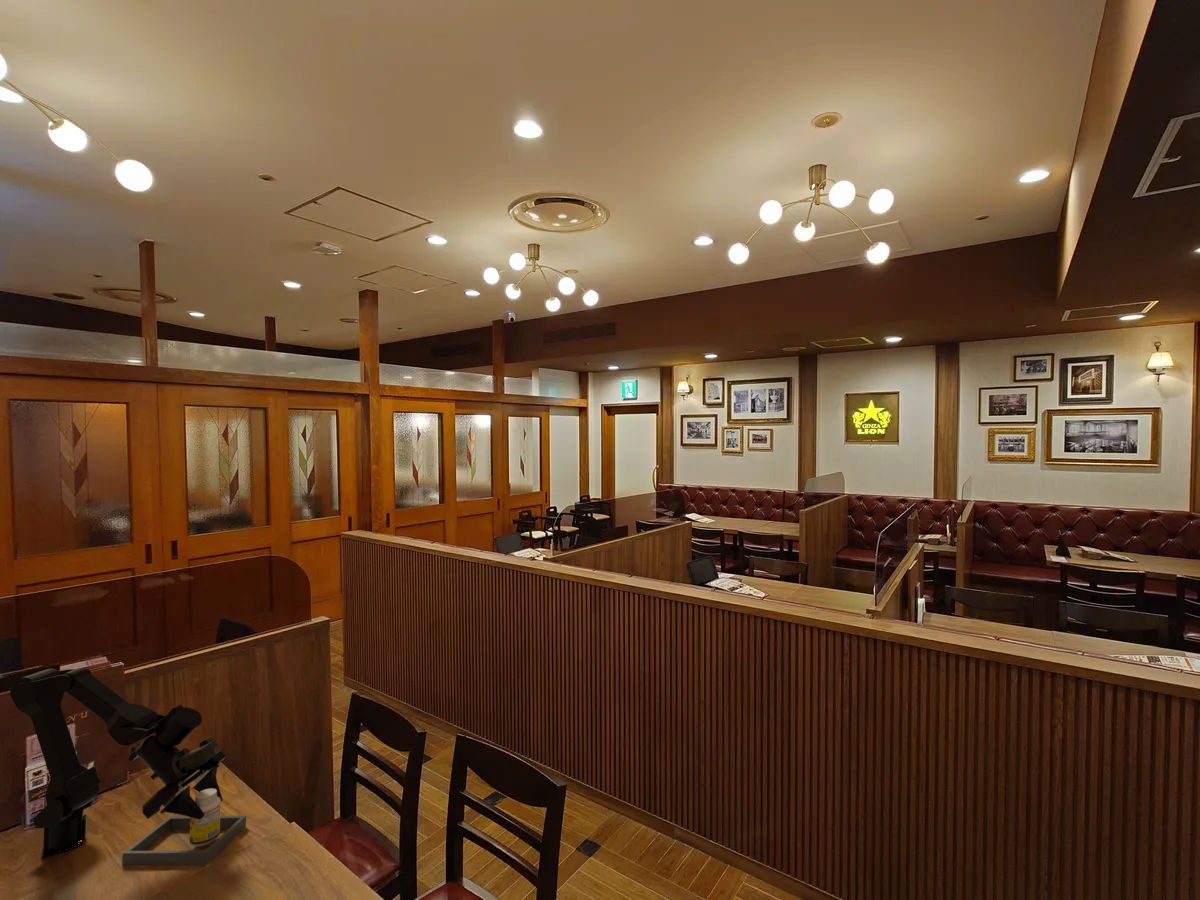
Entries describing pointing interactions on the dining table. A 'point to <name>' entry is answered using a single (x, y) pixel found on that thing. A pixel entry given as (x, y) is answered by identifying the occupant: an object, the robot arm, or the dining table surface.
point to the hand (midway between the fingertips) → (211, 809)
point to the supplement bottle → (206, 818)
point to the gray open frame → (181, 857)
